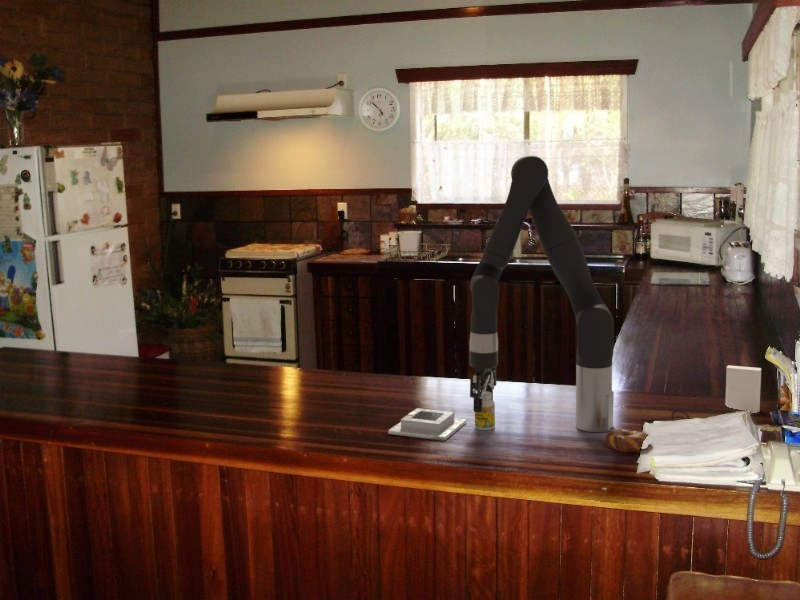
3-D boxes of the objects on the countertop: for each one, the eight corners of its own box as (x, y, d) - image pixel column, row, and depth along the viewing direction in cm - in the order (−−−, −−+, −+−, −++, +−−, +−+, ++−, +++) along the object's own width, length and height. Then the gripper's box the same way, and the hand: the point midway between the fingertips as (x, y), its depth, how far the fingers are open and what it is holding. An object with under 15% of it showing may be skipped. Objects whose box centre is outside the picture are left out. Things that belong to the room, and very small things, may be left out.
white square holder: (466, 422, 245) (466, 409, 244) (444, 440, 230) (444, 427, 230) (412, 416, 251) (412, 404, 251) (388, 433, 237) (388, 420, 236)
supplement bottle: (498, 426, 241) (497, 391, 240) (490, 431, 237) (489, 396, 235) (479, 423, 244) (479, 389, 242) (471, 429, 239) (471, 394, 238)
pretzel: (644, 438, 229) (645, 424, 229) (658, 453, 219) (658, 438, 218) (598, 439, 229) (598, 425, 228) (609, 454, 218) (609, 439, 218)
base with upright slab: (722, 412, 249) (724, 370, 247) (727, 403, 256) (729, 362, 254) (757, 415, 244) (759, 373, 242) (761, 407, 252) (763, 365, 250)
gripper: (488, 355, 229) (487, 416, 232) (505, 344, 242) (505, 402, 244) (460, 353, 232) (460, 413, 235) (479, 341, 245) (479, 399, 247)
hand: (483, 407), depth 240 cm, fingers open, 8 cm apart
